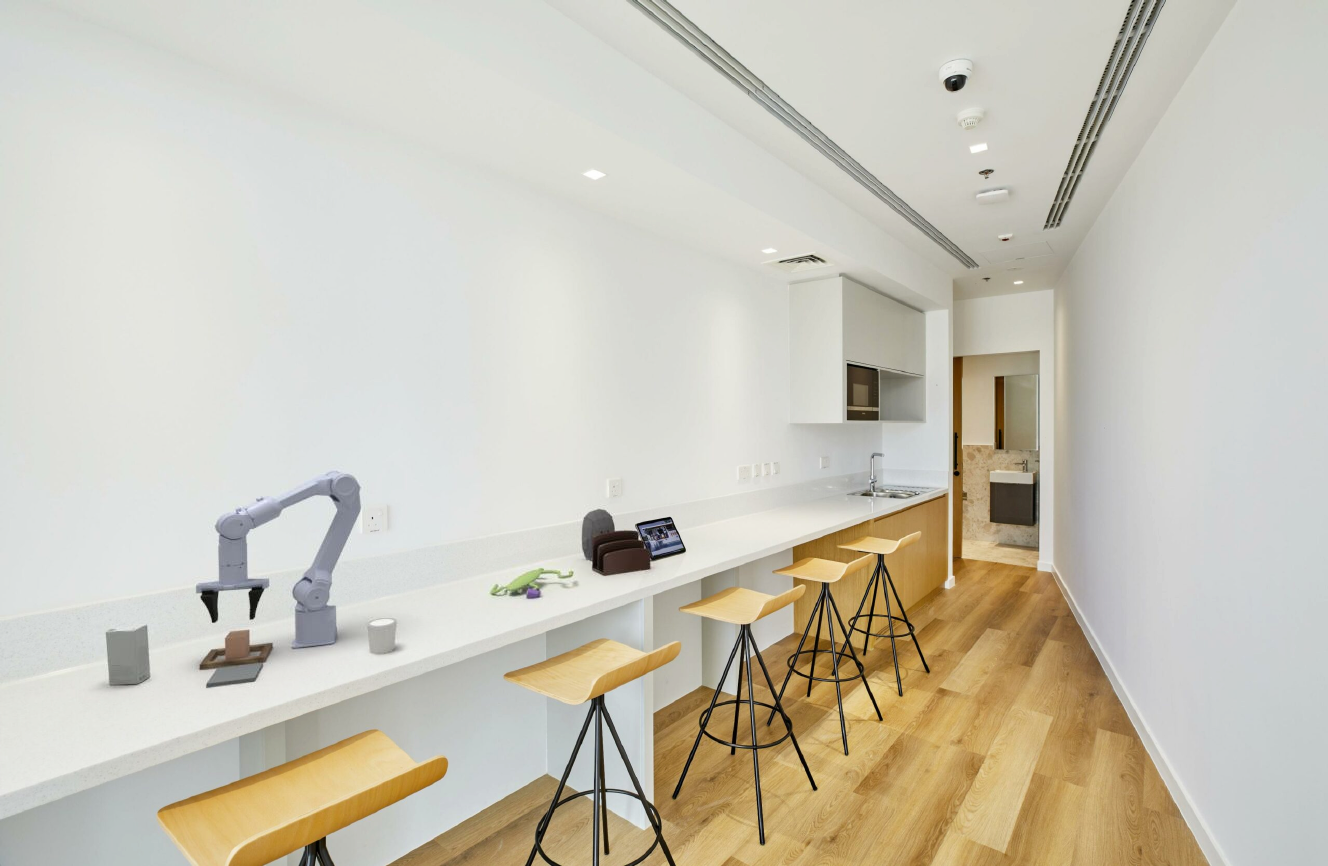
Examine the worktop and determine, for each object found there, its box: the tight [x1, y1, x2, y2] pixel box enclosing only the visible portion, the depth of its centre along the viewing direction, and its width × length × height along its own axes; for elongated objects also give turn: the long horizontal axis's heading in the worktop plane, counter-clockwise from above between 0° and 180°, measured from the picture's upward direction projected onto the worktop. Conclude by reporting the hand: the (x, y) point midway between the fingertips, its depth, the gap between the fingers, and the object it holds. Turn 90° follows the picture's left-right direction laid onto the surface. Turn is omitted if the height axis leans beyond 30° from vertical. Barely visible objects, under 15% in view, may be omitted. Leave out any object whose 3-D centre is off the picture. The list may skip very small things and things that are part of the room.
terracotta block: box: [224, 629, 251, 660], centre depth 157 cm, size 4×5×6 cm
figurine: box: [489, 567, 574, 599], centre depth 218 cm, size 18×27×6 cm
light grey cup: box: [366, 617, 398, 655], centre depth 163 cm, size 7×7×7 cm
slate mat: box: [205, 662, 264, 688], centre depth 146 cm, size 9×9×1 cm
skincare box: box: [105, 624, 151, 686], centre depth 143 cm, size 6×4×12 cm
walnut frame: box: [199, 642, 274, 671], centre depth 157 cm, size 13×10×1 cm
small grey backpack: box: [581, 508, 616, 560], centre depth 261 cm, size 15×8×20 cm, turn 130°
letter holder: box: [591, 529, 651, 577], centre depth 244 cm, size 10×20×14 cm, turn 122°
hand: (233, 620), depth 156 cm, fingers open, 7 cm apart
